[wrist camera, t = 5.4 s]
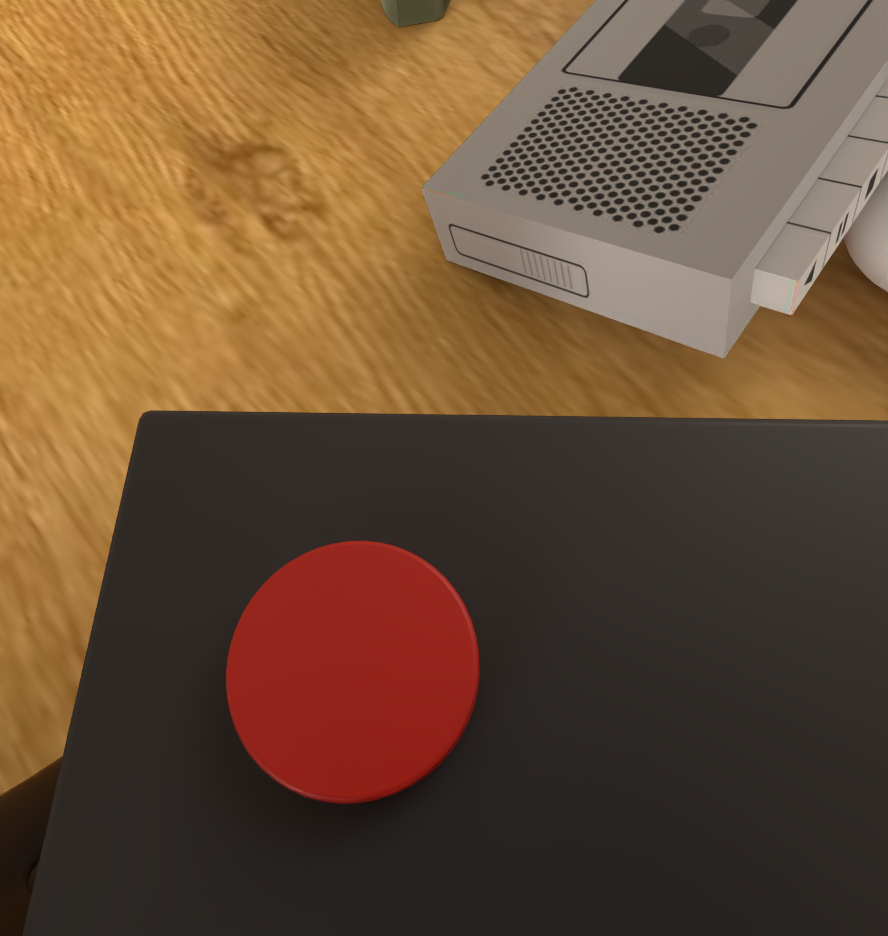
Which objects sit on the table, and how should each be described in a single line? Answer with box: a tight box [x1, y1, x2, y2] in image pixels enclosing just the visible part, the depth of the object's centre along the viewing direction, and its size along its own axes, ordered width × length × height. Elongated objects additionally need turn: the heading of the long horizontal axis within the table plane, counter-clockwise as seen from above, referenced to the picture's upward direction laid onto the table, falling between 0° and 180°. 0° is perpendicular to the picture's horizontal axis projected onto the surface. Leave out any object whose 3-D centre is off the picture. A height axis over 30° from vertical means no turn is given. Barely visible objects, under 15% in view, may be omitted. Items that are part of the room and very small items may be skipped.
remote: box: [22, 411, 888, 936], centre depth 9 cm, size 2×5×13 cm, turn 88°
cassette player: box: [421, 0, 888, 359], centre depth 20 cm, size 16×3×10 cm
